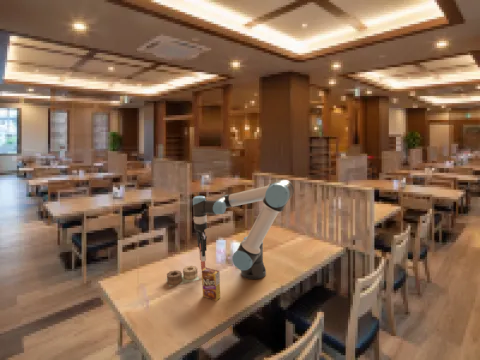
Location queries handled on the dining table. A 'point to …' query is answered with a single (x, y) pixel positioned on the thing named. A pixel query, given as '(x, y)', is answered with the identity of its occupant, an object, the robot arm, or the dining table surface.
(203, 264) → the needle
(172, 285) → the felt mat
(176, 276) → the walnut bead
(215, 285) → the candy box
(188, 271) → the beech bead
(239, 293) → the dining table surface
